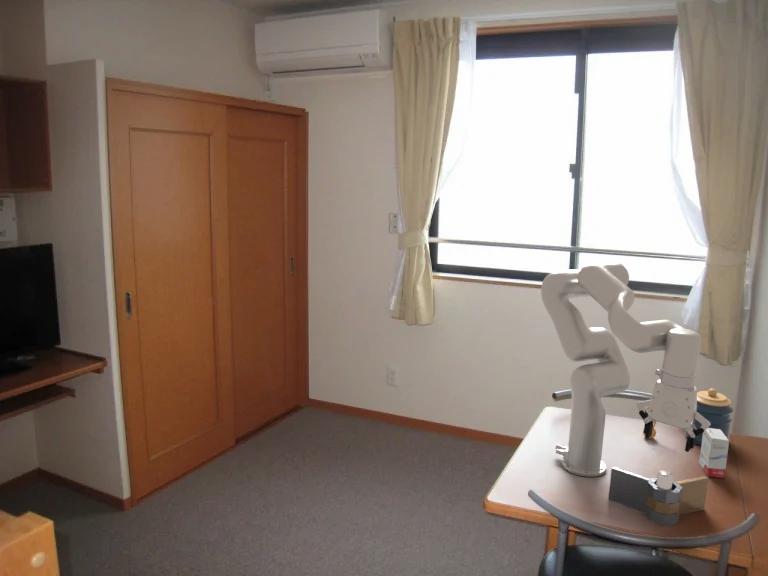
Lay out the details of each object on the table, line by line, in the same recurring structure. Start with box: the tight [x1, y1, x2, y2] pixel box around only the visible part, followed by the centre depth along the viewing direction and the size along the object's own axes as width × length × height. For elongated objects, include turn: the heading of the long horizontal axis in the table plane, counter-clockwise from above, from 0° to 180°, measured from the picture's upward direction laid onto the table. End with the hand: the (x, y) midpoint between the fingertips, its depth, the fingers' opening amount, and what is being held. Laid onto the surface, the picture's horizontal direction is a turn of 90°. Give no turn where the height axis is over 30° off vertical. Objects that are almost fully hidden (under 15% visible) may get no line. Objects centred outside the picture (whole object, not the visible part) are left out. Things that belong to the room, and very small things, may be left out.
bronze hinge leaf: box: [647, 475, 709, 516], centre depth 163 cm, size 17×7×9 cm, turn 109°
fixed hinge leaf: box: [608, 466, 682, 527], centre depth 164 cm, size 17×7×9 cm, turn 50°
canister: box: [684, 387, 734, 446], centre depth 206 cm, size 13×13×18 cm
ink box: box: [698, 428, 730, 479], centre depth 186 cm, size 9×5×12 cm, turn 168°
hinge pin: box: [656, 469, 674, 490], centre depth 161 cm, size 4×4×12 cm
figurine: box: [642, 406, 657, 440], centre depth 207 cm, size 8×6×12 cm
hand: (667, 443), depth 158 cm, fingers open, 9 cm apart
